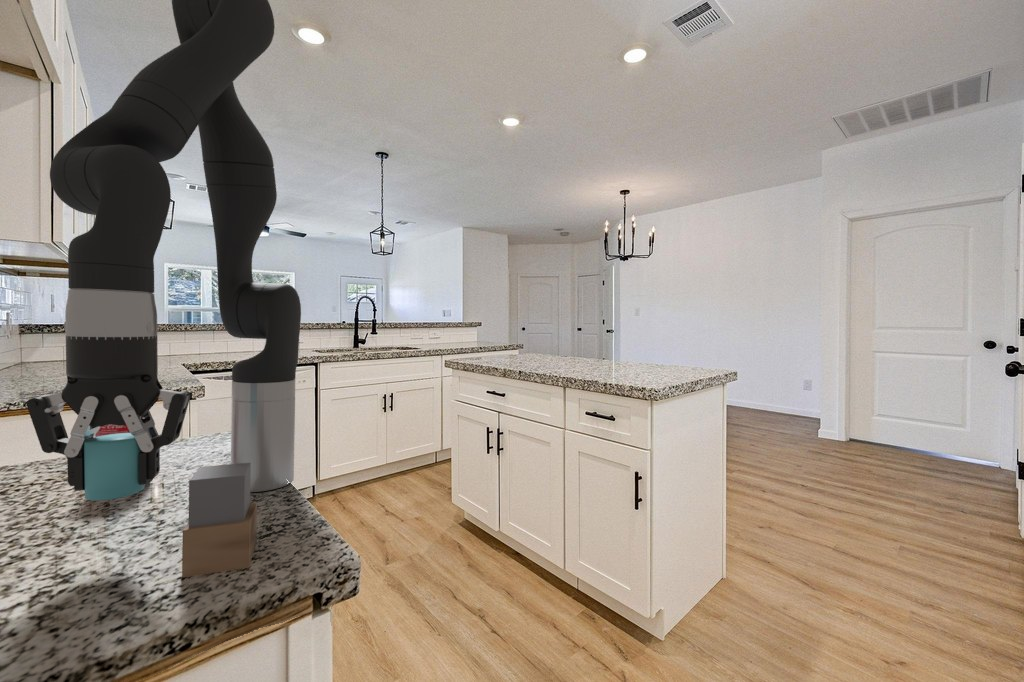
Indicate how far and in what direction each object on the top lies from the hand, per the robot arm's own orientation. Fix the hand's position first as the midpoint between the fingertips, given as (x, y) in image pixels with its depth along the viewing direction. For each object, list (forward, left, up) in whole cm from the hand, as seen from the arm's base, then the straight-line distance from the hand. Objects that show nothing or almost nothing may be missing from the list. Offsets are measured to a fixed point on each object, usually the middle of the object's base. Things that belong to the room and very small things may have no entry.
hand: (115, 484), depth 50 cm
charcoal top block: (+4, +11, -3) cm, 12 cm away
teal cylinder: (0, 0, -1) cm, 1 cm away
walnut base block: (+4, +11, -8) cm, 15 cm away
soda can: (-27, -8, -8) cm, 29 cm away
